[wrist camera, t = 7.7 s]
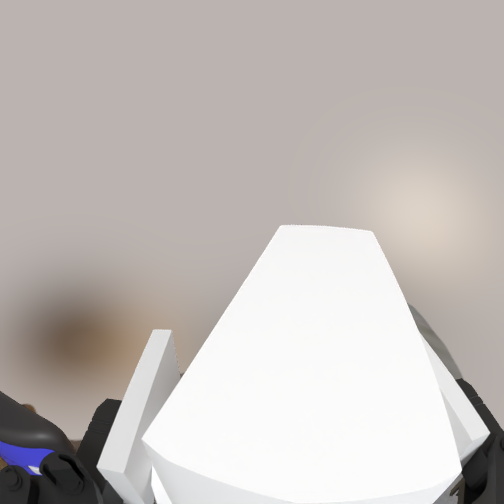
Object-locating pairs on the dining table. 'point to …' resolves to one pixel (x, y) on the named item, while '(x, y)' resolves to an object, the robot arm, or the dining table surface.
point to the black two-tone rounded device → (28, 436)
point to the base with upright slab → (308, 388)
